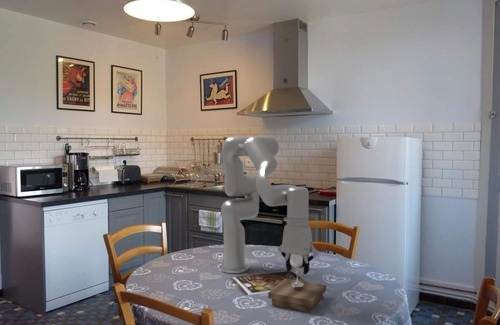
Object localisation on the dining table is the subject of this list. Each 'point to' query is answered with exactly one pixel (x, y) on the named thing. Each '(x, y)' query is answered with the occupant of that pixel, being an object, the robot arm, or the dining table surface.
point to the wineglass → (297, 267)
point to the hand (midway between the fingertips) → (297, 271)
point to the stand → (297, 295)
